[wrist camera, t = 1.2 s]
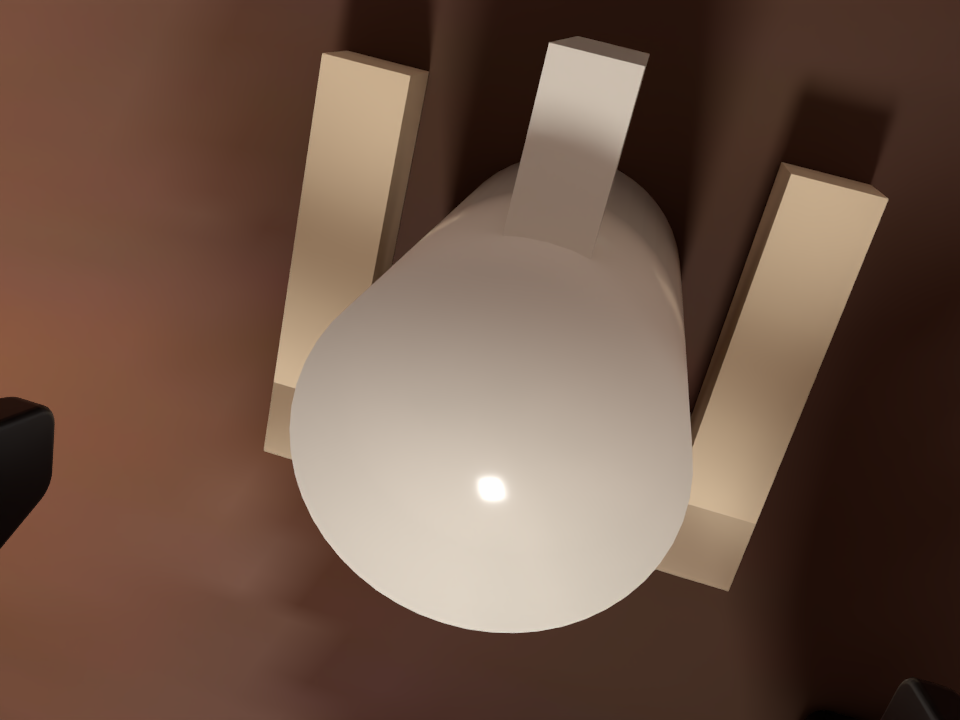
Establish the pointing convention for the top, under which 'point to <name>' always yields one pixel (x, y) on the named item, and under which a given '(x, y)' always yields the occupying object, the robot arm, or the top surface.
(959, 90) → the top surface
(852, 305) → the top surface
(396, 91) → the oak cradle
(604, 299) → the cream jug
